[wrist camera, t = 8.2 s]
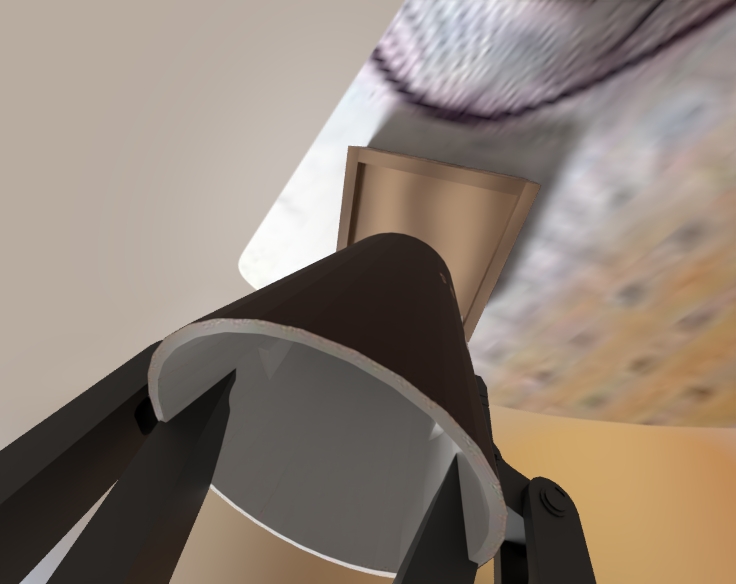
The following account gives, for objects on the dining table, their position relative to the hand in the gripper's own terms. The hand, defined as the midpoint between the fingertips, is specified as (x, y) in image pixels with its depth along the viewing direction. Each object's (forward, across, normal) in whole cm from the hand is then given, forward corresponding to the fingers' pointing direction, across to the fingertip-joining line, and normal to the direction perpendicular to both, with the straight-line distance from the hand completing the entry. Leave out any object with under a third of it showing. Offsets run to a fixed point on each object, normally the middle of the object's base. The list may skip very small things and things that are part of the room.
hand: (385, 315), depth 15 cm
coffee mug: (0, 0, 0) cm, 1 cm away
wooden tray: (+16, 0, 0) cm, 16 cm away
